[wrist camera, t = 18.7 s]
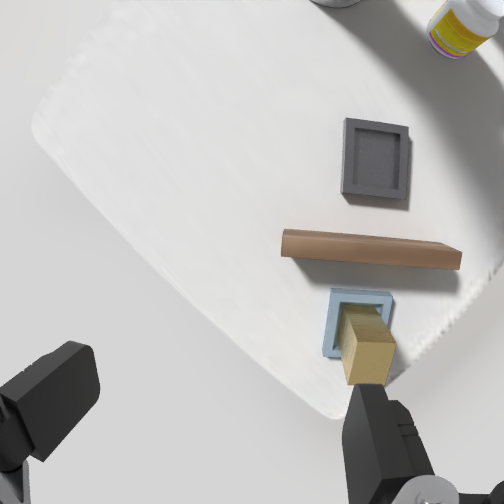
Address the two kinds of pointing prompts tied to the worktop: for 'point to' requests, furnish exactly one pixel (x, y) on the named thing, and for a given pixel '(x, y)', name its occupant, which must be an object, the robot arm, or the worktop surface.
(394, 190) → the grey square flat frame
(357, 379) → the block
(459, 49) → the supplement bottle
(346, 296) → the socket
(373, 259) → the board
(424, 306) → the worktop surface
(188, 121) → the worktop surface
